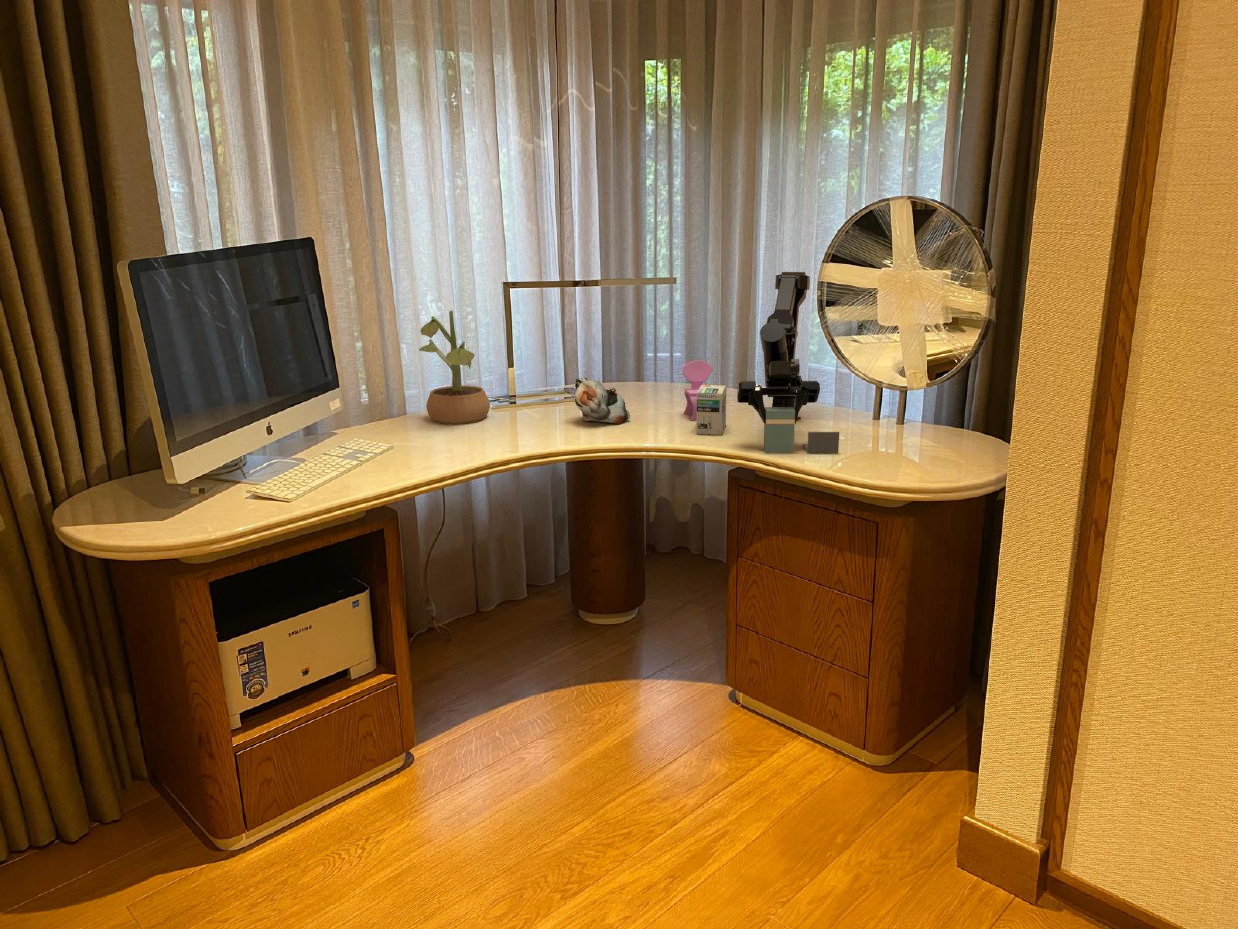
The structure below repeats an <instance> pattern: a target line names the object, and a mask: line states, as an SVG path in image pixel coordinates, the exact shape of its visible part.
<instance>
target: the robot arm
mask: <svg viewBox="0 0 1238 929" xmlns="http://www.w3.org/2000/svg"><path fill="white" fill-rule="evenodd" d="M774 285H775V290H777V295H776V296H777V297H776V301H775V307H774V311H773V313H772V314H770V315H769V316H768V317H767V319H766V323H765V324H764V325H763V326H762V327H761V328H760V329H759V337H760V342H761V343H760V344H761V348H762V351H763V368H764V384H765V386H764V385H763V386H761V385H760V384H757V383H756V380H740V381H739V383H738V385H737V393H736V396H737V397H736V398H737V403H740V404H747V405H748V406H752V408H754V410H755V411H756V412H757V414H758V415H759V417H760V419H761V421H762V422H763V424H764V423H766V413H765V407H766V406H765V403H764V396H767V397H768V398H772V403H771V407H793V408H794V410H795V424H797V421H799V420H801V418H802V417H801V416H799V413H800V411H801V409H802V407H803V406H806V405H808V403H809V404H812V403H813V404H815V403H817V402H818V399H819V396H820V391H821V384H820V383H819V382H818V380H803V378H802V376H801V375H800V370H801V369H800V368H801V367H800V366H801V364H800V359H799V358H796V348H797V337H798V336H799V332H798V324H799V314H800V307H801V305H802V304H803V303H804V301H805V300H806V298H807V293H808V291H809V290H810V288H811V287H810V285H811V276H809V275H808V274H806V271H782V272H781V273H780V274H776V275H775V284H774Z"/></svg>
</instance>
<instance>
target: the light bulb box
mask: <svg viewBox="0 0 1238 929" xmlns="http://www.w3.org/2000/svg"><path fill="white" fill-rule="evenodd" d="M726 419H727V385H720V384H719V385H715V384H702V385H701V386H700V388H699V390H698V391H697V419H696V421H695V422H696V425H695V426H696V428H695V429H696V430H695V433H696V435H708V434H710V435H713V436H723V433H724V432H725V429H726V427H725V426H727V423H726V422H727V420H726Z"/></svg>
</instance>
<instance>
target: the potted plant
mask: <svg viewBox="0 0 1238 929" xmlns="http://www.w3.org/2000/svg"><path fill="white" fill-rule="evenodd" d="M448 313H449V314H448V315H449V331H450V333H449V332H448V331H447V329H446V328H445V327H444V325H443V323H441V322H440V320H439V319H438V318H436V317H435V316H431V318H430V319H431V320H430V321H429V322H427V323H426V324H424V325H423V326H422V327H421V329H420V330H419V332H420V335H422V336H426V337H428V338H430V339H429V340H428V342H429V343H428V344H425V345H423V346H422V347H420V348H419V349H418V351H419V352H427V353H436V354H437V356H439V358H440V359H441V360H442V361H444V363H446V365H447V366H448V367H449V369H450V370H451V375H452V377H451V378H452V381H451V385H449V386H448V385H447V386H442V387H441V386H440V387H437V388H434V389H432V390H431V391H430V392H429V396H428V398H427V401H426V406H425V407H426V412H427V414H428V416H429V418H430V419H431V420H432V421H434V422H435V423H437V424H442V425H443V424H444V425H465V424H472V423H476V422H480V421H482V420H484V418H486V417H487V416H488V414H489V412H490V406H491V404H490V400H489V397H488V396H487V394H486V391H485V390H484V388H483V387H480V386H476V385H466V384H465V385H464V384H463V385H462V374H461V366H467V367H468V368H469V370H471V366H472V360H473V359H475V355H476V354H475V353H473V352H472V351H469V350H468V349H467V348H465V346H466V344H465V343H466V342H465V340H463V341H462V342H461V344H460V345H459V347H458V346H457V336H456V330H455V321H454V311H453V310H451V309H450V310H448ZM439 330H440V332H441V333H442V335H443V336H444V338H445V339H446V341H448V343H449V344H450V351H449V352H448V353H447V354H446V355H445V354H444V353H443V352H442V350H441V349H440V348H439V347H438V346H437V345H436V343H435V342H434V340H432V338H433V337H434V336H435V335H436V334H437V333H438V331H439Z"/></svg>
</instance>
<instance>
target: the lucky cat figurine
mask: <svg viewBox="0 0 1238 929" xmlns="http://www.w3.org/2000/svg"><path fill="white" fill-rule="evenodd" d="M574 386H575V393H574V403H575V406H576V407H577V409H579V410H580V411H581V413H582V419H583V421H584V422H600V423H601V422H602V423H608V424H615V425H621V424H625V423H626V422H627V421H628V420H630V418H631V415H630V414H631V413H630V411H629V410H628V409H627V408H626V402H625V400H624V398H623V396H621V394H619V393H617V390H616V388H615V387H614V386H611V387H609V389H606V388H605V386H604V385H603V383H602V382H600V381H599V380H597V379H587V377H585V376H584V377H581V378H580V379H579V378H575V385H574Z"/></svg>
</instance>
